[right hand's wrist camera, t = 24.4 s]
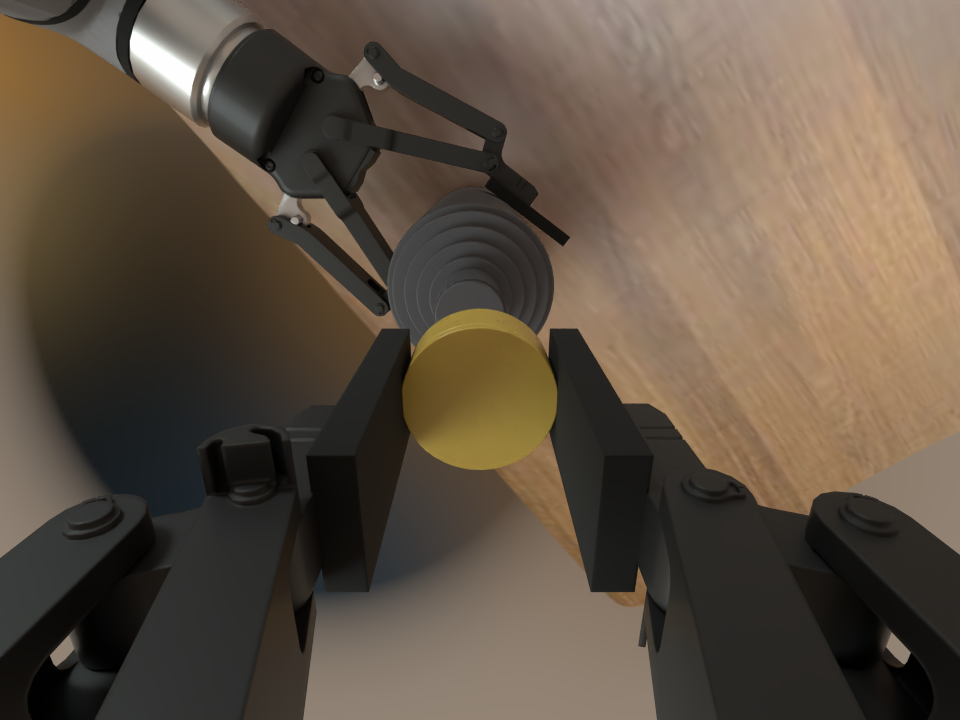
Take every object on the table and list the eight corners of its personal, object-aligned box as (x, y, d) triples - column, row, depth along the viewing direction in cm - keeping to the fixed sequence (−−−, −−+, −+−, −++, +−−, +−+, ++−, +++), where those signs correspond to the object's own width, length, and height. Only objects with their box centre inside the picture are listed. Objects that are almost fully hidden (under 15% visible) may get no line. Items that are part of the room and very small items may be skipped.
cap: (491, 278, 13) (493, 294, 12) (577, 385, 14) (589, 414, 13) (380, 365, 14) (367, 391, 12) (469, 460, 15) (468, 495, 14)
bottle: (521, 186, 40) (576, 209, 18) (519, 283, 43) (565, 405, 21) (421, 187, 40) (359, 212, 18) (426, 285, 43) (377, 408, 21)
